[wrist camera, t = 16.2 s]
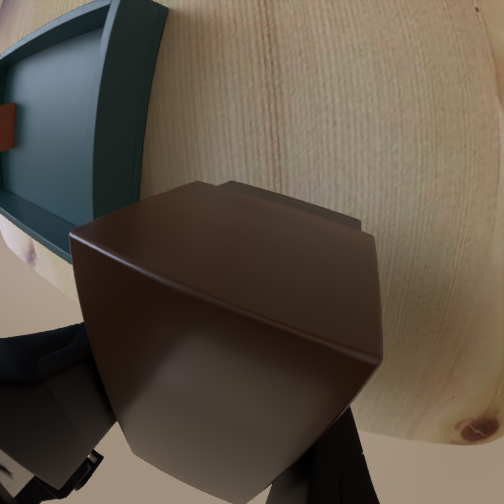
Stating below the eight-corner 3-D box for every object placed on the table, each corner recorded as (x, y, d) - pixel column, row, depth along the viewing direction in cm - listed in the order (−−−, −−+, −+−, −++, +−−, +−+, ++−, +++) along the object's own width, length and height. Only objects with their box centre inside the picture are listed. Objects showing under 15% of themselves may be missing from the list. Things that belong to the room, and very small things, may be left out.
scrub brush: (199, 364, 11) (132, 453, 7) (225, 170, 7) (66, 230, 3) (287, 401, 10) (242, 507, 6) (371, 215, 6) (386, 362, 2)
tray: (6, 190, 19) (-18, 199, 17) (12, 62, 13) (-14, 64, 11) (138, 256, 15) (98, 282, 12) (169, 7, 9) (124, -11, 6)
